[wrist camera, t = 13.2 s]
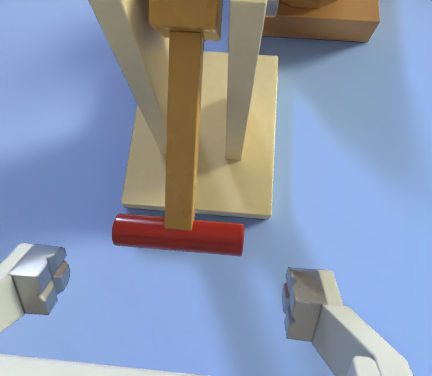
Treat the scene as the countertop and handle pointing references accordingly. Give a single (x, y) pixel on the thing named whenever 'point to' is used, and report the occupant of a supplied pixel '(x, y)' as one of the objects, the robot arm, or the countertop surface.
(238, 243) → the lever
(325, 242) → the countertop surface
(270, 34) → the button block
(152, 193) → the crank bracket
